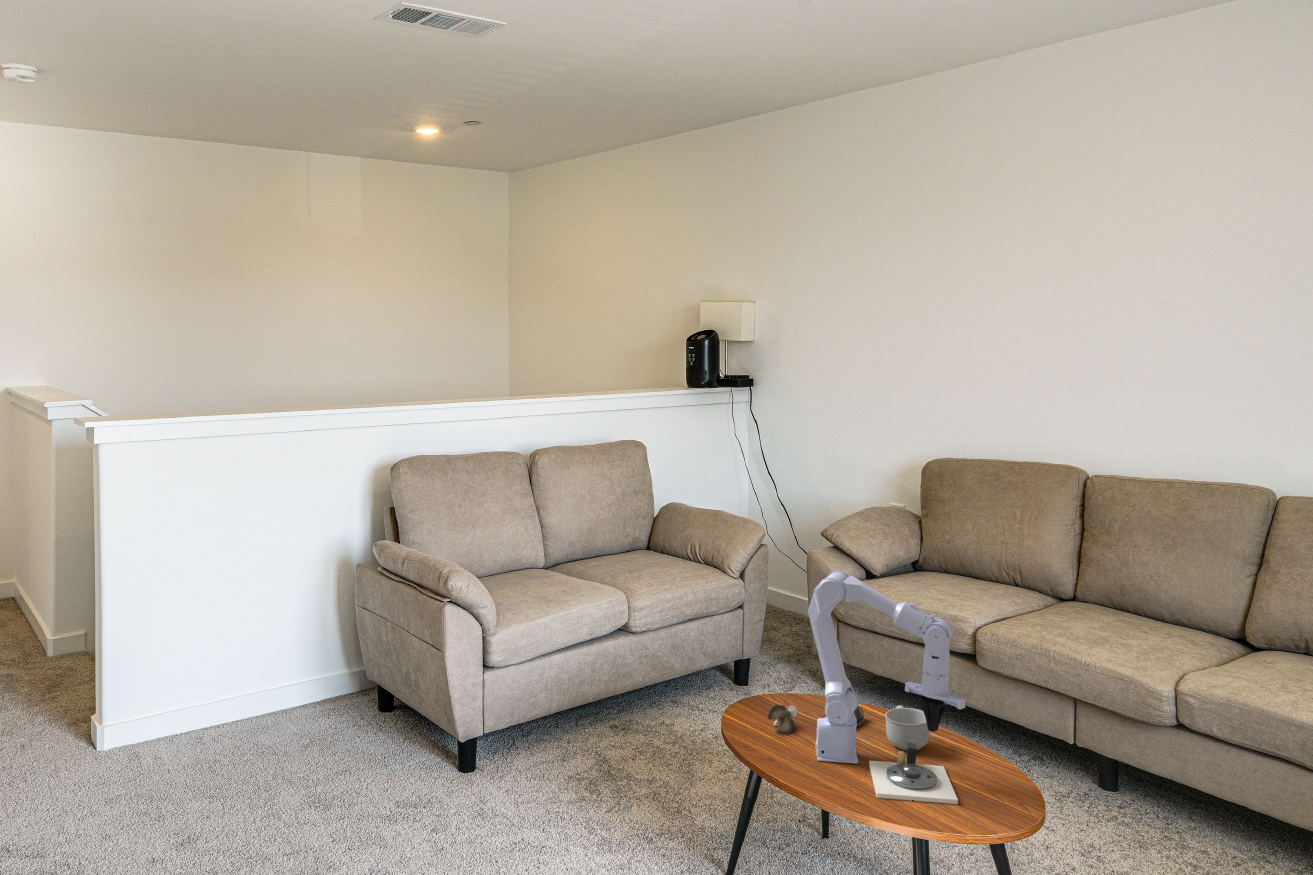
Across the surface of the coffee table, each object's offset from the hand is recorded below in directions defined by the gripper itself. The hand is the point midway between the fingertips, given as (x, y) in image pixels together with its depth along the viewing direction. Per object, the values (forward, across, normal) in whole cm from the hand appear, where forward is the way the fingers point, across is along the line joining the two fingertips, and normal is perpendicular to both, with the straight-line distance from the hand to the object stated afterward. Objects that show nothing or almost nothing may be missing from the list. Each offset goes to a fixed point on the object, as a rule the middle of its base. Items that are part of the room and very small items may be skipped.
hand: (932, 729), depth 211 cm
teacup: (+11, +14, -10) cm, 20 cm away
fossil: (+11, +32, -9) cm, 35 cm away
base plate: (+10, 0, +8) cm, 13 cm away
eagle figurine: (+11, +40, +7) cm, 42 cm away
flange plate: (+9, +1, +6) cm, 11 cm away
